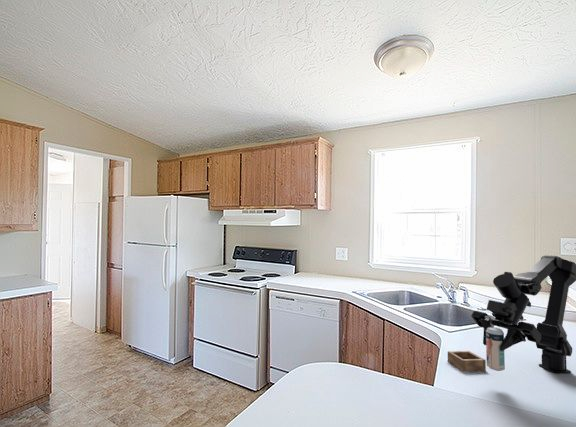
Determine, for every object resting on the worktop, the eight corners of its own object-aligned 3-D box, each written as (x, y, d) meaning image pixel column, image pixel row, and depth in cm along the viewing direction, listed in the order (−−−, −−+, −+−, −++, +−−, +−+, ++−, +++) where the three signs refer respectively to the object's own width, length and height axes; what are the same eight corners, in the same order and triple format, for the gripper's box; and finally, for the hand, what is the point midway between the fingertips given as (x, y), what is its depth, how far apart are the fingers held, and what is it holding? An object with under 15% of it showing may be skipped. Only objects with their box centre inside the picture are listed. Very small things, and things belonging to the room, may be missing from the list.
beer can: (487, 363, 101) (486, 325, 102) (505, 368, 98) (504, 328, 99) (485, 368, 98) (484, 329, 98) (504, 373, 95) (503, 332, 95)
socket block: (469, 360, 118) (468, 350, 118) (485, 370, 109) (485, 359, 110) (447, 361, 117) (447, 351, 117) (462, 371, 108) (462, 360, 109)
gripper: (473, 286, 110) (452, 322, 104) (534, 296, 93) (512, 340, 87) (489, 307, 112) (469, 343, 107) (550, 321, 95) (530, 364, 90)
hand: (492, 347), depth 98 cm, fingers closed on beer can, 5 cm apart
